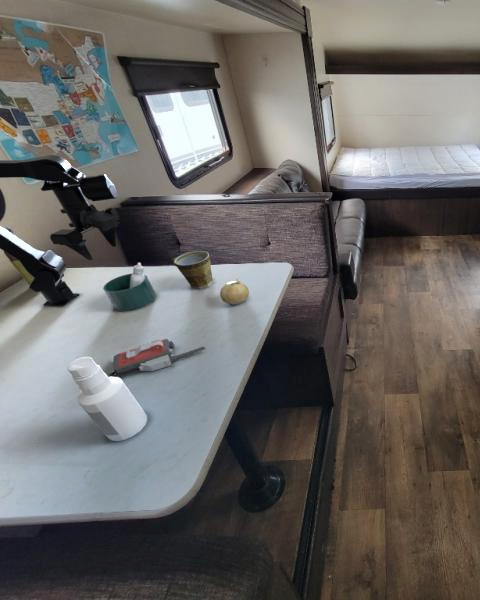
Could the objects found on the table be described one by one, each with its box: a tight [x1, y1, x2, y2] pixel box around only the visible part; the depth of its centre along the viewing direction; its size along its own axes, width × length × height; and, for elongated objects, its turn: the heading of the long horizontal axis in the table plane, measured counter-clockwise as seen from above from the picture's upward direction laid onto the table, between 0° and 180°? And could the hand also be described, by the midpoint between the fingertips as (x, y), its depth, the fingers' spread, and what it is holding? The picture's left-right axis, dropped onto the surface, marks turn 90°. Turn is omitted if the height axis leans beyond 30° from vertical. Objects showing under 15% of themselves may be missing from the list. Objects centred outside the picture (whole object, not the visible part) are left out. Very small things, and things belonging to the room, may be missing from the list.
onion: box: [219, 277, 250, 306], centre depth 103 cm, size 8×8×7 cm
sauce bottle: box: [3, 226, 34, 286], centre depth 109 cm, size 7×6×20 cm
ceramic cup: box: [171, 250, 214, 290], centre depth 111 cm, size 13×10×10 cm
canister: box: [102, 273, 157, 312], centre depth 104 cm, size 11×11×7 cm
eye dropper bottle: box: [130, 262, 146, 288], centre depth 103 cm, size 4×6×12 cm
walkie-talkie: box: [108, 338, 206, 378], centre depth 83 cm, size 9×4×20 cm
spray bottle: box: [66, 356, 148, 442], centre depth 63 cm, size 7×7×18 cm
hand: (103, 253), depth 105 cm, fingers open, 9 cm apart
